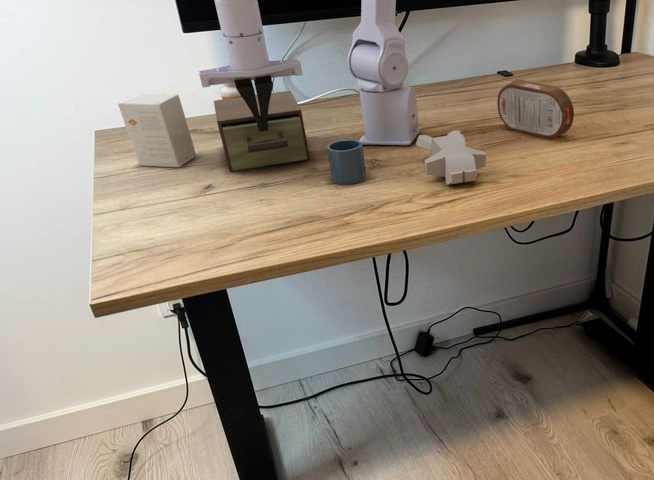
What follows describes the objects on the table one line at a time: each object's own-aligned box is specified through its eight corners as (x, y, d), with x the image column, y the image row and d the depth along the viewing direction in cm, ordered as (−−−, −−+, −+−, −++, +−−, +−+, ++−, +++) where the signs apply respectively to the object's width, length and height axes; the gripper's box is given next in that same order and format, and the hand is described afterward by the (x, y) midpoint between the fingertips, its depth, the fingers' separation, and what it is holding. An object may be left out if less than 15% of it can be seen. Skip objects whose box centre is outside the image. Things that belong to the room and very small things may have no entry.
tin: (573, 139, 112) (576, 87, 107) (562, 144, 110) (565, 92, 105) (505, 123, 120) (505, 75, 116) (494, 128, 119) (494, 79, 114)
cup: (370, 172, 104) (366, 139, 101) (360, 185, 99) (355, 151, 96) (338, 171, 105) (333, 139, 102) (327, 184, 100) (321, 151, 97)
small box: (197, 156, 114) (180, 94, 107) (179, 168, 109) (159, 103, 103) (157, 154, 115) (138, 93, 109) (138, 166, 111) (116, 102, 105)
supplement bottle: (250, 131, 124) (238, 78, 118) (224, 131, 125) (211, 78, 119) (262, 123, 128) (251, 70, 122) (237, 122, 129) (225, 70, 123)
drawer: (312, 169, 104) (304, 127, 100) (235, 181, 101) (224, 138, 97) (297, 137, 117) (290, 99, 113) (228, 147, 114) (219, 109, 110)
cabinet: (310, 159, 110) (301, 109, 105) (229, 172, 107) (216, 121, 102) (298, 136, 120) (290, 90, 115) (225, 147, 117) (213, 100, 112)
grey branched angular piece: (432, 166, 93) (408, 124, 104) (433, 198, 96) (410, 154, 107) (495, 157, 95) (465, 117, 105) (494, 189, 98) (465, 147, 109)
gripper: (290, 23, 98) (306, 115, 106) (189, 34, 94) (214, 128, 102) (296, 31, 92) (313, 128, 100) (190, 42, 89) (216, 142, 97)
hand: (263, 129), depth 101 cm, fingers closed
